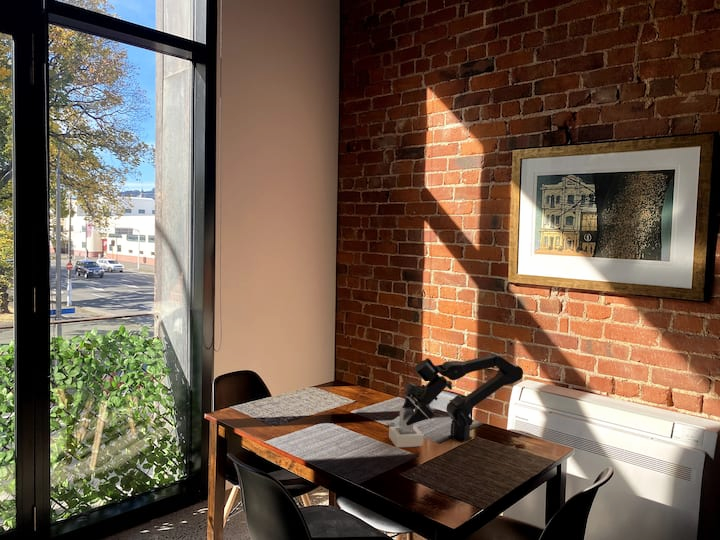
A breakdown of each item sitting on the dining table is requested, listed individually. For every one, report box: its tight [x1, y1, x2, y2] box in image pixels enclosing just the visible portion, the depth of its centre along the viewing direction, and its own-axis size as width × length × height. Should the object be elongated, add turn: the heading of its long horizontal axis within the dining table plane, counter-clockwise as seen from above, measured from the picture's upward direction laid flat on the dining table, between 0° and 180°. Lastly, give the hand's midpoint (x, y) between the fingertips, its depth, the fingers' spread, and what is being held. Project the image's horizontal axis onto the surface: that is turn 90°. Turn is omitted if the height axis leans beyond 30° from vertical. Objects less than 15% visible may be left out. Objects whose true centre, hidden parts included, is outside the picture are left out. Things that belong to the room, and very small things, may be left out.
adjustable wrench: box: [388, 406, 419, 427], centre depth 240 cm, size 25×6×2 cm, turn 149°
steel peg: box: [398, 407, 414, 435], centre depth 213 cm, size 4×4×12 cm
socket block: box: [388, 424, 425, 448], centre depth 214 cm, size 10×10×4 cm
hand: (402, 420), depth 213 cm, fingers open, 9 cm apart
